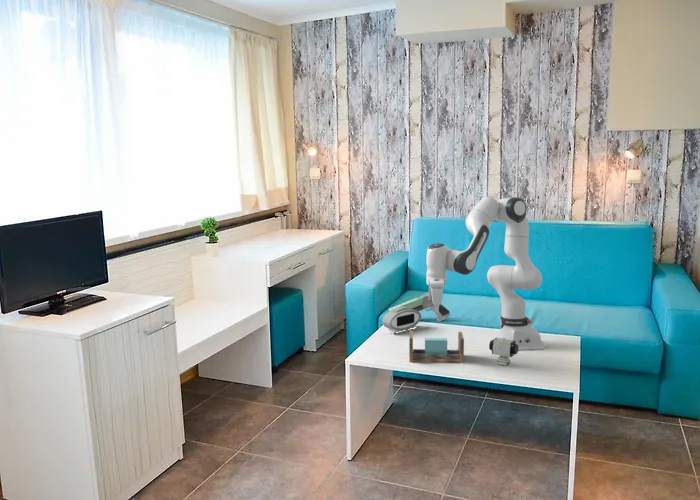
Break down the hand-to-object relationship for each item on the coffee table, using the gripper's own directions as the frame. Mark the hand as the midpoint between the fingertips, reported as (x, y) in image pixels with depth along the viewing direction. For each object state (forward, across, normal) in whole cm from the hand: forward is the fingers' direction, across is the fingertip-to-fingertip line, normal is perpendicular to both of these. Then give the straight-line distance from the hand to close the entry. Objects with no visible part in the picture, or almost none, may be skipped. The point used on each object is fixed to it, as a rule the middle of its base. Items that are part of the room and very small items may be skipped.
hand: (436, 310), depth 269 cm
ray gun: (+24, -68, -7) cm, 72 cm away
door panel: (+22, 0, 0) cm, 22 cm away
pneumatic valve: (+23, +7, +29) cm, 38 cm away
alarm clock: (+23, -46, -16) cm, 54 cm away
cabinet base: (+23, 0, 0) cm, 23 cm away
